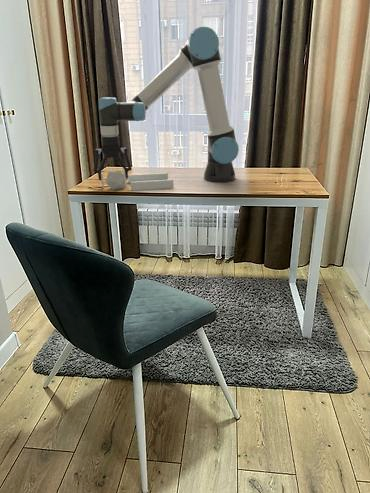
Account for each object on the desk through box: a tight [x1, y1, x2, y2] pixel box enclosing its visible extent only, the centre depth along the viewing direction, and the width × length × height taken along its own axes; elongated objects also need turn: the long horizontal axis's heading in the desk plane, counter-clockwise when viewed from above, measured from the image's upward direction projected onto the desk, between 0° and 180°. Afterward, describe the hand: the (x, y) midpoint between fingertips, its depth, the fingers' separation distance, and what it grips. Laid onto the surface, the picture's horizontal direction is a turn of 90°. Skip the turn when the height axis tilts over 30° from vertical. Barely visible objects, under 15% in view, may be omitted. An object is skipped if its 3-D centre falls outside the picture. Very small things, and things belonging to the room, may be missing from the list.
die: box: [104, 169, 127, 191], centre depth 178 cm, size 8×9×10 cm
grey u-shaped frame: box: [127, 172, 175, 191], centre depth 184 cm, size 19×15×4 cm
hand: (114, 186), depth 181 cm, fingers open, 9 cm apart
